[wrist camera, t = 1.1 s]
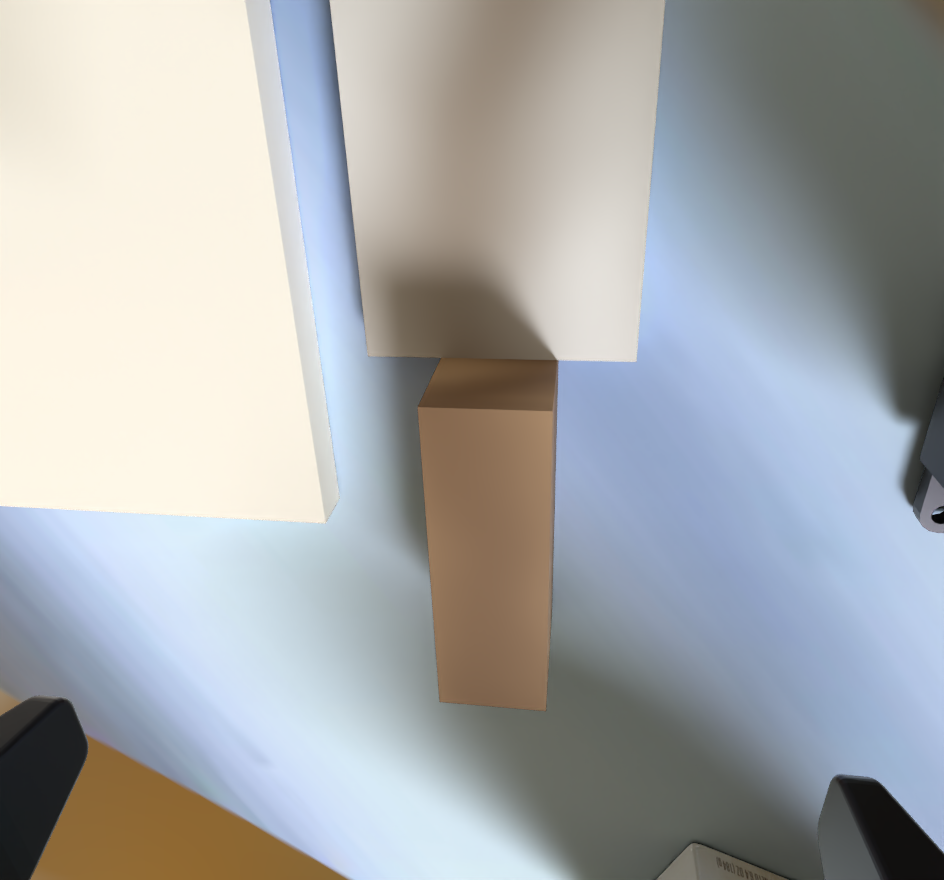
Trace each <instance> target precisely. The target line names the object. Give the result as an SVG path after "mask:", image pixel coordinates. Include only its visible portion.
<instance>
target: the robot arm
mask: <svg viewBox="0 0 944 880" xmlns="http://www.w3.org/2000/svg"><path fill="white" fill-rule="evenodd" d="M920 460H921V462H922V463H923V464H924V466H925V468H924V471H923V474H922V478H921V481H920V484H919V487H918V491H917V494H916V497H915V501H914V504H913V512H914V514H915V516H916V518H917V519H918V521H919V522H920V523H921V525H922V526H923V527H924V528H926V529H927V530H928V531H932V532H936V533H944V511H943V512H942V513H940V514H934V515H932V513H933V511H934V510H935V509H937V508H938V507H940V506H944V378H943V381H942V385H941V388H940V391H939V395H938V398H937V401H936V405H935V408H934V411H933V415H932V418H931V421H930V425H929V428H928V432H927V435H926V438H925V442H924V445H923V448H922V452H921V455H920ZM87 754H88V741H87V737H86V735H85V733H84V730H83V728H82V725H81V723H80V720H79V718H78V716H77V713H76V711H75V708H74V706H73V704H72V702H71V701H70V700H68V699H67V698H64V697H56V696H46V695H38V696H34V697H31V698H29V699H27V700H25V701H24V702H22V703H20V704H19V705H17V706H15V707H14V708H12V709H11V710H9V711H7V712H6V713H4V714H2V715H1V716H0V880H30V879H31V877H32V875H33V873H34V871H35V869H36V867H37V865H38V862H39V860H40V858H41V856H42V854H43V852H44V850H45V847H46V845H47V843H48V841H49V839H50V837H51V835H52V832H53V830H54V828H55V826H56V824H57V822H58V819H59V817H60V815H61V813H62V811H63V809H64V806H65V804H66V802H67V800H68V798H69V796H70V793H71V791H72V789H73V787H74V785H75V783H76V781H77V778H78V776H79V774H80V772H81V770H82V768H83V766H84V763H85V761H86V757H87ZM818 843H819V850H820V855H821V861H822V866H823V872H824V878H825V880H944V853H943V852H942V850H941V849H940V848H939V847H938V846H937V845H936V844H935V843H934V842H933V840H932V839H931V838H930V837H929V836H928V835H927V834H926V833H925V832H924V830H923V829H922V828H921V827H920V826H919V825H918V824H917V823H916V822H915V820H914V819H913V818H912V817H911V816H910V815H909V814H908V813H907V812H906V810H905V809H904V808H903V807H902V806H901V805H900V804H899V803H898V801H897V800H896V799H895V798H894V797H893V796H892V795H891V794H890V793H889V791H888V790H887V789H886V788H885V787H884V786H883V785H882V784H881V783H880V782H878V781H877V780H875V779H873V778H870V777H863V776H852V775H842V774H840V775H836V776H834V777H833V778H832V780H831V782H830V785H829V788H828V792H827V795H826V798H825V801H824V805H823V808H822V811H821V815H820V818H819V822H818Z"/></svg>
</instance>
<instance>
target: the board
mask: <svg viewBox="0 0 944 880" xmlns="http://www.w3.org/2000/svg"><path fill="white" fill-rule="evenodd" d="M339 499H340V496H339V489H338V482H337V475H336V468H335V461H334V454H333V447H332V439H331V432H330V425H329V418H328V411H327V404H326V397H325V390H324V382H323V375H322V368H321V361H320V354H319V347H318V340H317V333H316V326H315V318H314V311H313V304H312V297H311V290H310V283H309V276H308V269H307V262H306V254H305V247H304V240H303V233H302V226H301V219H300V212H299V205H298V198H297V190H296V183H295V176H294V169H293V162H292V155H291V148H290V141H289V133H288V126H287V119H286V112H285V105H284V98H283V91H282V84H281V77H280V69H279V62H278V55H277V48H276V41H275V34H274V27H273V20H272V13H271V5H270V0H0V506H12V507H31V508H49V509H68V510H86V511H105V512H123V513H142V514H160V515H179V516H197V517H216V518H234V519H253V520H271V521H290V522H308V523H326V522H327V520H328V519H329V517H330V515H331V513H332V511H333V510H334V508H335V506H336V504H337V502H338V501H339Z"/></svg>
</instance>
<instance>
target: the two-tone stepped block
mask: <svg viewBox="0 0 944 880" xmlns="http://www.w3.org/2000/svg"><path fill="white" fill-rule="evenodd" d="M330 8H331V17H332V27H333V36H334V45H335V55H336V64H337V73H338V83H339V92H340V101H341V111H342V120H343V129H344V139H345V148H346V157H347V167H348V176H349V185H350V195H351V204H352V213H353V223H354V232H355V241H356V251H357V260H358V269H359V279H360V288H361V297H362V307H363V316H364V325H365V335H366V344H367V353H368V356H379V357H427V358H441V359H440V361H439V363H438V365H437V367H436V370H435V372H434V374H433V376H432V378H431V380H430V382H429V384H428V386H427V388H426V390H425V393H424V395H423V397H422V399H421V401H420V403H419V405H418V420H419V434H420V447H421V460H422V474H423V487H424V500H425V514H426V527H427V540H428V553H429V567H430V580H431V593H432V607H433V620H434V633H435V647H436V660H437V673H438V686H439V700H440V702H447V703H458V704H470V705H481V706H492V707H504V708H515V709H527V710H538V711H546V702H547V685H548V669H549V652H550V635H551V618H552V589H553V550H554V511H555V472H556V433H557V395H558V360H572V361H620V362H636V359H637V347H638V334H639V322H640V309H641V297H642V285H643V272H644V260H645V247H646V235H647V222H648V210H649V197H650V185H651V172H652V160H653V148H654V135H655V123H656V110H657V98H658V85H659V73H660V60H661V48H662V35H663V23H664V11H665V0H330Z"/></svg>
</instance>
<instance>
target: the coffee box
mask: <svg viewBox="0 0 944 880" xmlns="http://www.w3.org/2000/svg"><path fill="white" fill-rule="evenodd" d="M656 880H788V879H786V878H783V877H781V876H778V875H776V874H773V873H771V872H769V871H766V870H764V869H761V868H759V867H756V866H754V865H751V864H749V863H746V862H744V861H741V860H739V859H736V858H734V857H731V856H729V855H726V854H724V853H721V852H719V851H716V850H714V849H711V848H709V847H706V846H703V845H700V844H697V843H692V844H690V845H689V846H688V847H687V848H686V849H685V850H684V851H683V852H682V853H681V854H680V855H679V856H678V857H677V858H676V859H675V860H674V861H673V862H672V863H671V864H670V865H669V867H668V868H667V869H666V870H665V871H664V872H663V873H662V874H661V875H660V876H659V877H658V878H657V879H656Z"/></svg>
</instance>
